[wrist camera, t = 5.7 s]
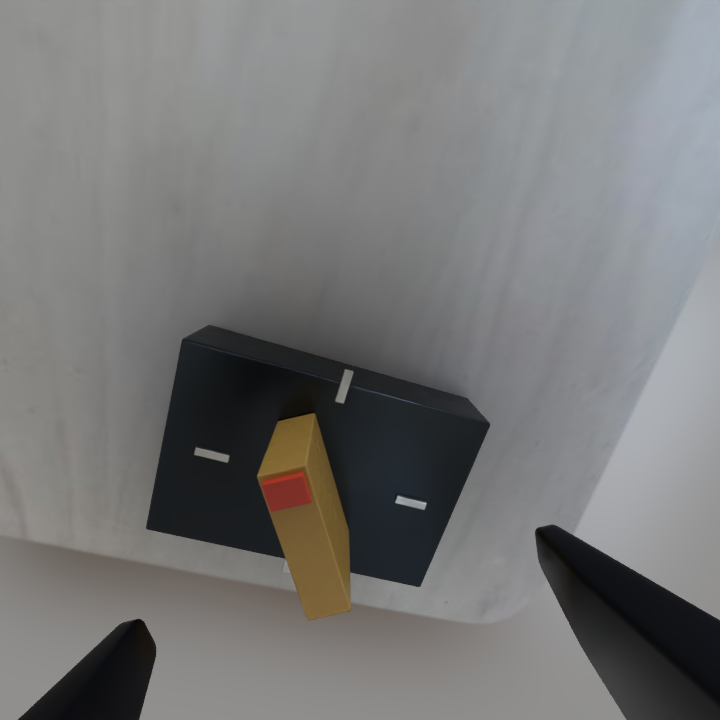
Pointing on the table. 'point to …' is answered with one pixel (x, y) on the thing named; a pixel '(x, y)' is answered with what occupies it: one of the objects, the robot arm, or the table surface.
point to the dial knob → (308, 515)
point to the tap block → (341, 440)
